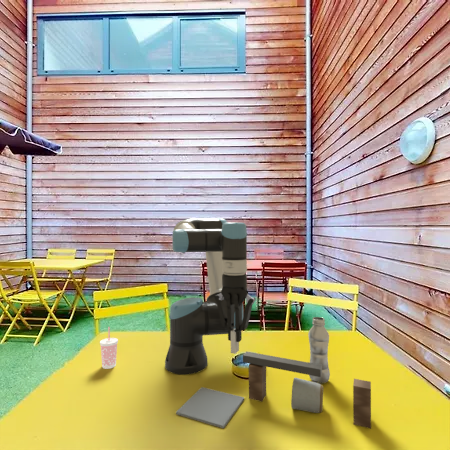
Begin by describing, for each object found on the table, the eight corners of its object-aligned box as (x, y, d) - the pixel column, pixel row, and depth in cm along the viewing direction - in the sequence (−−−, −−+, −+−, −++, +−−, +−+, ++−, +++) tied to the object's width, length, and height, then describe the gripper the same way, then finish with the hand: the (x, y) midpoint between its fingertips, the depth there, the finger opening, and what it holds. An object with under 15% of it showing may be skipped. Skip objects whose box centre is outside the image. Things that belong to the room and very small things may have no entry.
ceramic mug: (323, 420, 79) (323, 389, 80) (290, 414, 82) (290, 384, 82) (323, 398, 90) (323, 372, 90) (294, 394, 92) (294, 368, 92)
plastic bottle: (319, 388, 95) (319, 323, 95) (304, 378, 101) (303, 317, 101) (334, 383, 98) (334, 320, 98) (318, 374, 104) (318, 314, 104)
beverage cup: (97, 365, 111) (97, 326, 111) (114, 360, 115) (114, 323, 115) (103, 371, 107) (103, 330, 107) (120, 366, 111) (120, 327, 111)
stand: (248, 398, 89) (248, 365, 89) (253, 391, 93) (253, 359, 93) (371, 428, 76) (370, 389, 76) (370, 419, 80) (370, 381, 80)
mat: (176, 414, 82) (176, 411, 82) (201, 388, 95) (201, 386, 95) (223, 428, 76) (223, 426, 76) (244, 399, 89) (244, 397, 89)
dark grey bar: (242, 362, 91) (242, 355, 91) (246, 358, 93) (246, 351, 94) (320, 377, 82) (320, 369, 82) (322, 372, 84) (322, 364, 84)
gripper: (209, 273, 93) (209, 352, 93) (250, 276, 87) (250, 360, 87) (220, 270, 100) (221, 344, 99) (258, 273, 94) (259, 350, 94)
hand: (234, 351), depth 93 cm, fingers closed
